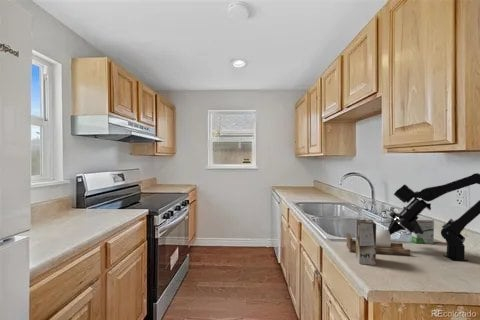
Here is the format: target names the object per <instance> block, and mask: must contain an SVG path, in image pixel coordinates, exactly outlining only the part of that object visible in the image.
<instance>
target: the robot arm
mask: <svg viewBox="0 0 480 320" xmlns="http://www.w3.org/2000/svg"><path fill="white" fill-rule="evenodd" d="M475 184H477V185H480V173H479V172H478V173H477V172H476V173H473V174H471V175H469V176H465V177H462V178H460V179H457V180H454V181H451V182H448V183H445V184H441V185H435V186H429V187H428V186H427V187H425V188H423V189H421V190H420V191H419V190H417V191H414V190H413V189H412V188H410V187H409V186H408V185H407V184H403V185H402V186H401V187H399V188H398V189H396V191H395V192H394V193H393V196H394V197H396V198H397V199H398V200H400V201H401V202H402V203H403V204H405V203H407V206H403V207H402V210H401V211H400V212H394V211H391V212H389V214H388V215H389V216H390V217H391V218H390V223H389V225H388V229H387V230H389V232H390V236H392V235H393V234H395V233H397V232H400V231H409V232H410V233H411V234H412V232H413V233H415V234H417V233H420V232H422V229H421V227H420V226H419V224H418V222H417V221H416V220H417V219H418V218H419V215H420V214H421V213H422V212H423V211H424V210H425V209H427V210H428V211H431V210H432V207H431V205H432V203H427V202H432V201H434V200H436V199H438V198H440V197H441V196H442V197H443V195H445V194H448V193H451V192H455V191H456V190H460V189H464V188H467V187H470V186H473V185H475ZM408 203H409V204H408ZM479 215H480V199H479V200H477V202H475V203H474V204H473V205H472V206H471V207H469V209H468V210H466V211H465V212H464V213H463V214H462V215H461V216H459V218H457V219H455V220H453V219H452V218H450V219H449V220H448V221H447V222H446V223H444V224H443V225H442V226H441V228H442V229H441V230H440V236H441V237H442V238H443V239H444V240H445V242H446V254H442V256H443V257H445V258H447V259H449V260H451V261H455V262H456V261H459V262H461V261H462V262H463V261H469V259H468V258H466V257H465V253H466V251H465V244H464V243H465V240H466V237H465V236H464V235H462V231H464V229H465V228H466V226H468V224H470V223H471V222H472V221H473V220H475V219H476V218H477V217H478V216H479Z"/></svg>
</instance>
